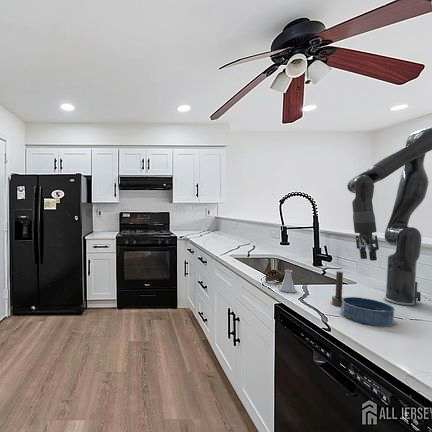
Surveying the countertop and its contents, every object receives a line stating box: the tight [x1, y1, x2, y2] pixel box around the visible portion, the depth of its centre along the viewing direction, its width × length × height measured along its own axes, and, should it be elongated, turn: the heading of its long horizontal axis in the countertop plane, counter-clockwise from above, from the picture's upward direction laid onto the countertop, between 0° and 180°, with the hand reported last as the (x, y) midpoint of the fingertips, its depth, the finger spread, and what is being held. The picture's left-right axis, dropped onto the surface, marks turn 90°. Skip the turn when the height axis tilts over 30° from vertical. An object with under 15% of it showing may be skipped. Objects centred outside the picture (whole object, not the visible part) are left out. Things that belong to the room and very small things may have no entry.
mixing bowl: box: [340, 296, 395, 327], centre depth 104 cm, size 15×15×6 cm
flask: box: [279, 269, 297, 293], centre depth 136 cm, size 7×7×10 cm
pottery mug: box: [264, 268, 285, 283], centre depth 151 cm, size 12×10×8 cm
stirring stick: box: [331, 270, 344, 307], centre depth 118 cm, size 4×4×14 cm
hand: (368, 259), depth 120 cm, fingers open, 8 cm apart
